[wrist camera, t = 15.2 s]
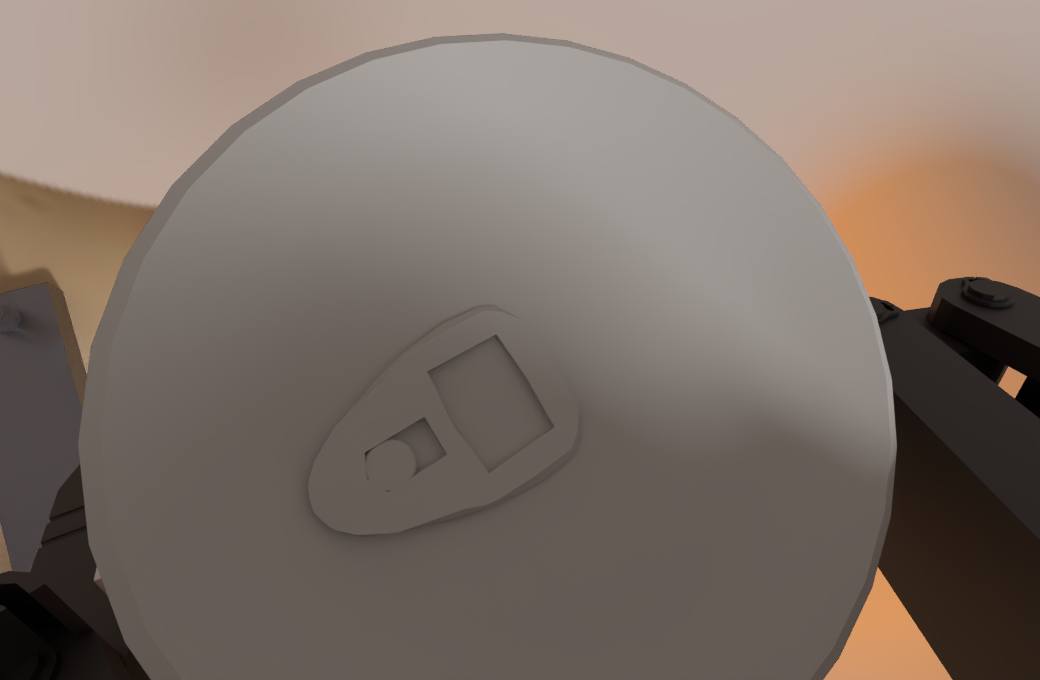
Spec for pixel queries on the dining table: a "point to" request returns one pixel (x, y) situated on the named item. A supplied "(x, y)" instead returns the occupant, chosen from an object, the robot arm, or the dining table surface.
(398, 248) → the canned food
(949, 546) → the robot arm
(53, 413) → the metal handle
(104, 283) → the dining table surface
